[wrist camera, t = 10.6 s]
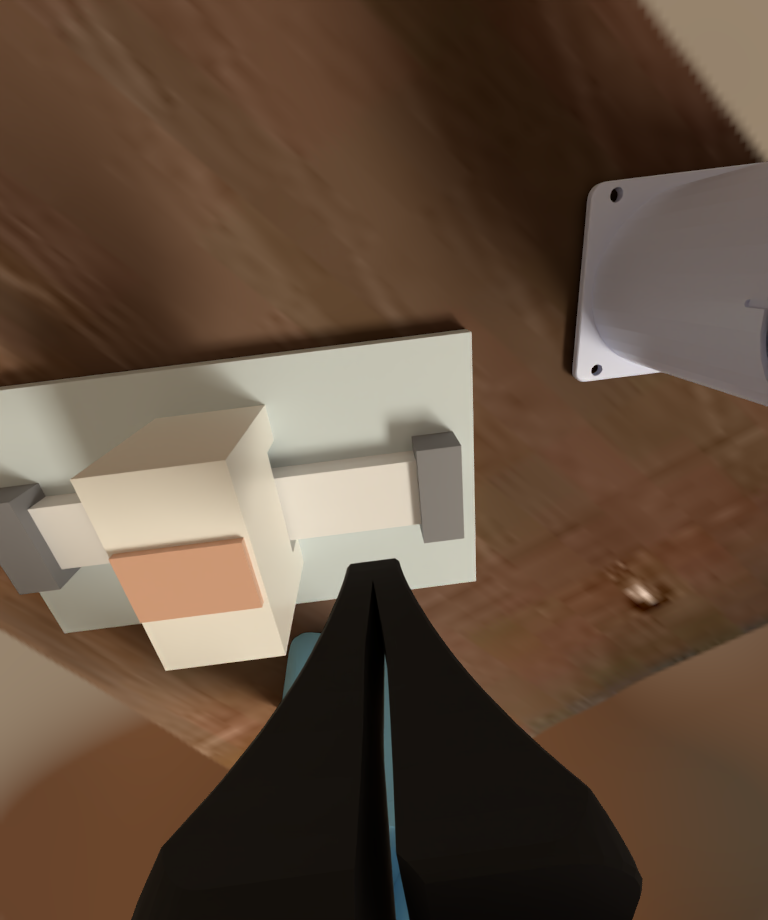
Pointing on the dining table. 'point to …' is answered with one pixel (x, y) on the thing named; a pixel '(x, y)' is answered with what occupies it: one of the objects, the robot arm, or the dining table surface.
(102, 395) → the rail board
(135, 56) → the dining table surface
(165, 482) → the block
